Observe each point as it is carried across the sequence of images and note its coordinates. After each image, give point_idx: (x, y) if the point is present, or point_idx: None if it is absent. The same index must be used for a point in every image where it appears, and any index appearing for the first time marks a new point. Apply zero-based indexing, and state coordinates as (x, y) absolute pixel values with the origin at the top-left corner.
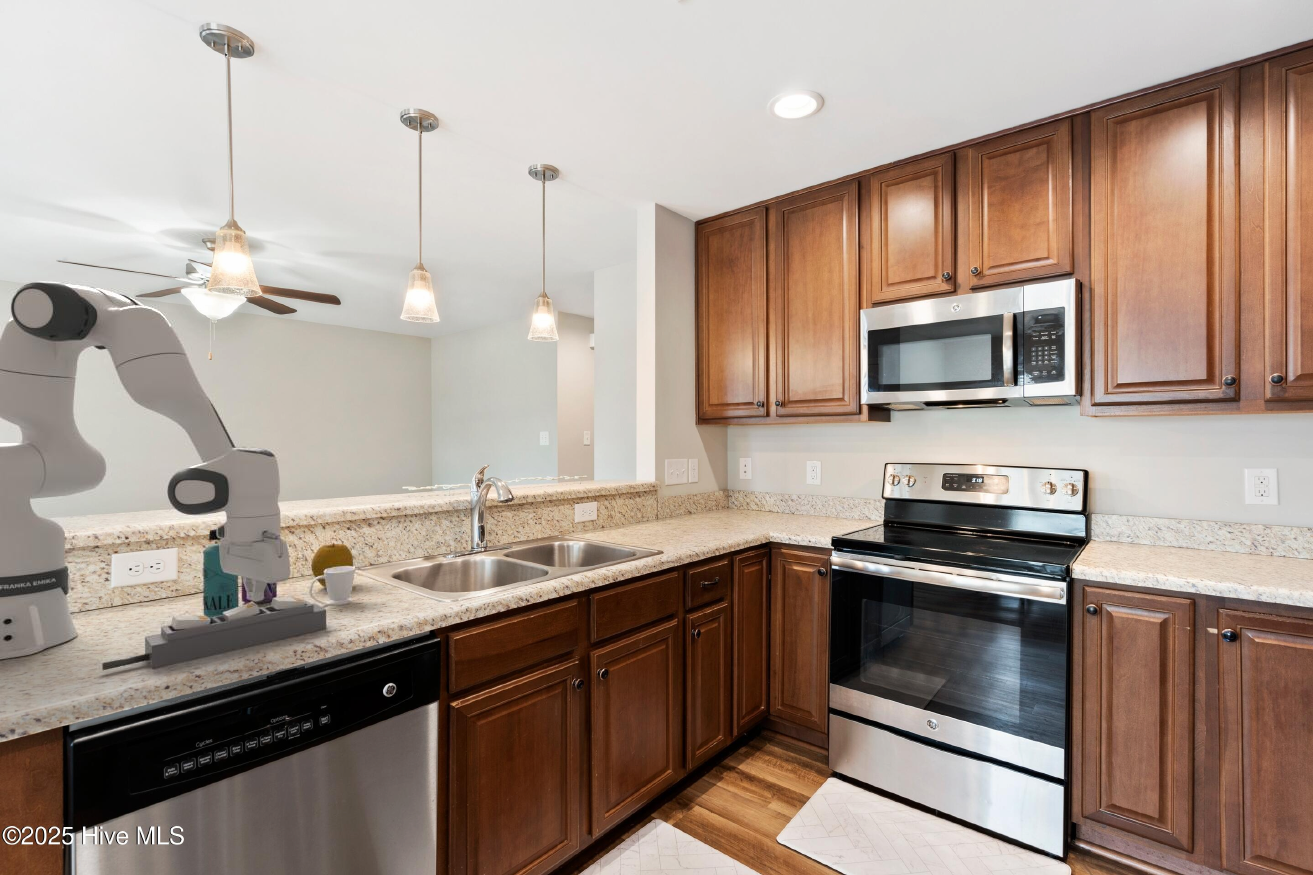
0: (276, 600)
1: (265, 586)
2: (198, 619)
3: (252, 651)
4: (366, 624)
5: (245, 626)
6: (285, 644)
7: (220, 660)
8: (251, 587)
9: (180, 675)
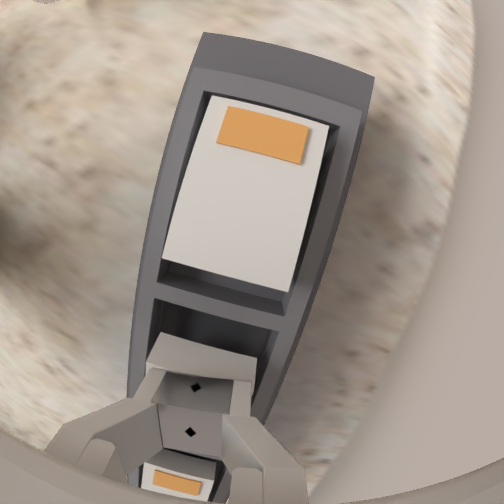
0: (247, 281)
1: (276, 443)
2: (204, 499)
3: (329, 359)
4: (415, 32)
5: (276, 394)
6: (370, 278)
7: (312, 420)
8: (144, 443)
9: (317, 472)
